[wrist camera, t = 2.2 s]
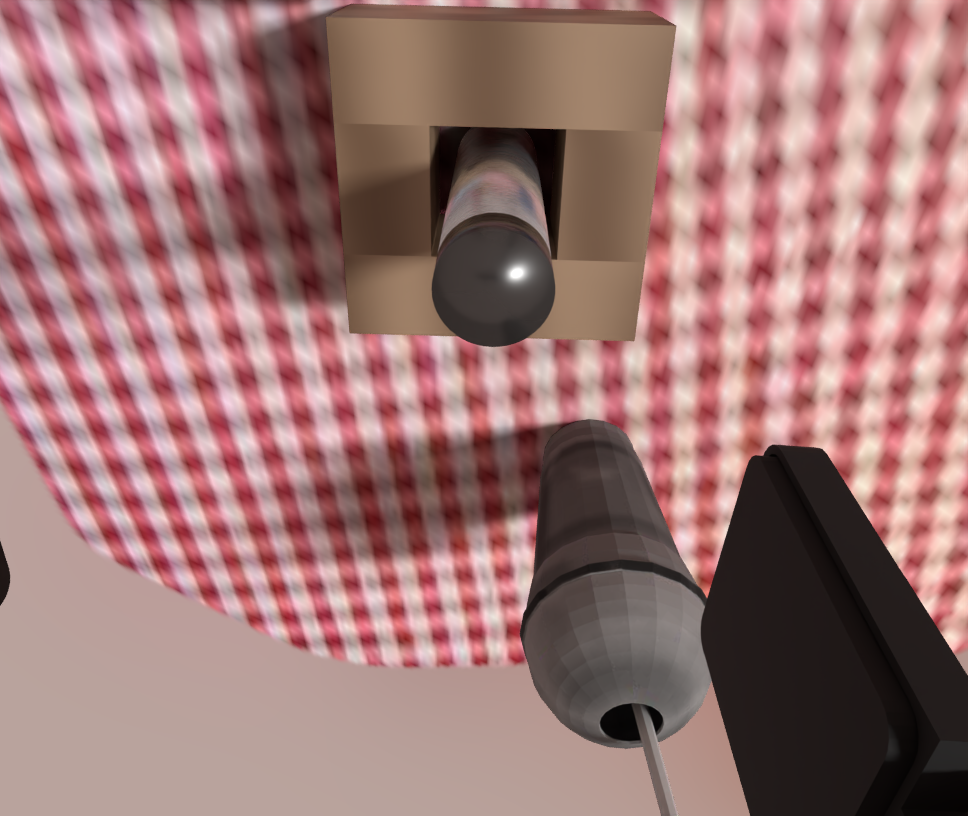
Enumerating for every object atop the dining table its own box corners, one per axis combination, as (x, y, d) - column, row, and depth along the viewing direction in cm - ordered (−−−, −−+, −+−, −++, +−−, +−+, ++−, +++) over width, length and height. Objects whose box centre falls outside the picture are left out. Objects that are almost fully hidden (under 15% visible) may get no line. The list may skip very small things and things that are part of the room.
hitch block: (650, 10, 29) (676, 25, 25) (618, 290, 35) (634, 340, 30) (351, 3, 29) (325, 17, 25) (368, 283, 35) (349, 333, 31)
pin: (538, 119, 31) (559, 233, 20) (534, 200, 33) (551, 348, 21) (457, 117, 31) (430, 229, 20) (457, 197, 33) (432, 344, 21)
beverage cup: (573, 368, 37) (634, 750, 20) (692, 441, 39) (842, 846, 22) (487, 473, 40) (476, 879, 23) (601, 535, 42) (669, 952, 25)
